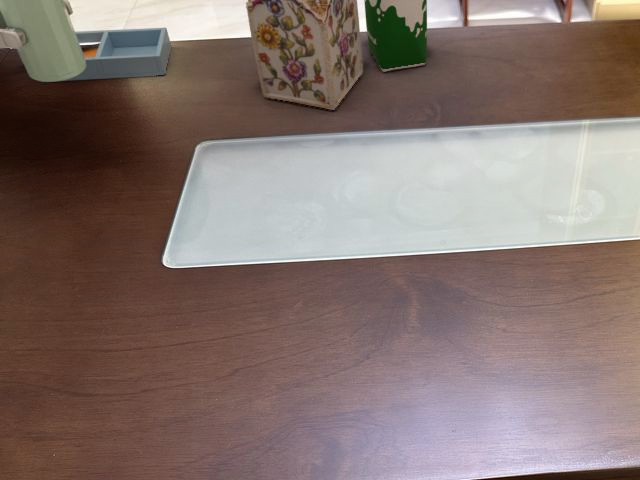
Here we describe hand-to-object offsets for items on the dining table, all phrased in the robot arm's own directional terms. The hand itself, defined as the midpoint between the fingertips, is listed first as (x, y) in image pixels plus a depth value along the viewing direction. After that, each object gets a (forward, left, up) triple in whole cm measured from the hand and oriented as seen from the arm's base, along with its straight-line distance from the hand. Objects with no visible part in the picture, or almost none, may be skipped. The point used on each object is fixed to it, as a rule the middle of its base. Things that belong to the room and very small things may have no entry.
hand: (45, 23), depth 83 cm
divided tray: (+9, +22, -17) cm, 29 cm away
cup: (-1, +1, -5) cm, 6 cm away
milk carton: (+47, -2, -17) cm, 50 cm away
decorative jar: (+32, -2, -17) cm, 36 cm away
